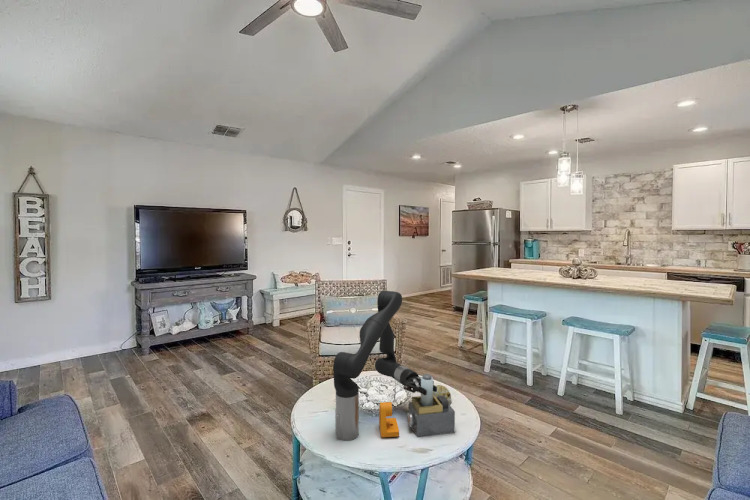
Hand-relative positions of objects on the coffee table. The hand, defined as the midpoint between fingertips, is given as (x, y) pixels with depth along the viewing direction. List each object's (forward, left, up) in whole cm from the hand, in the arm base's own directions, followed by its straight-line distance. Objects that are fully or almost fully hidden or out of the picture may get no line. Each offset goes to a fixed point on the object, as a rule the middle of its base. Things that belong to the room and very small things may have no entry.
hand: (431, 391), depth 147 cm
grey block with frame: (+1, +2, -17) cm, 17 cm away
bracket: (-17, +3, -17) cm, 24 cm away
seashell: (+13, +24, -17) cm, 33 cm away
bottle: (-1, +2, -6) cm, 7 cm away
